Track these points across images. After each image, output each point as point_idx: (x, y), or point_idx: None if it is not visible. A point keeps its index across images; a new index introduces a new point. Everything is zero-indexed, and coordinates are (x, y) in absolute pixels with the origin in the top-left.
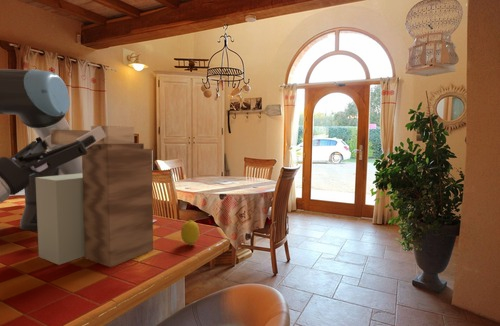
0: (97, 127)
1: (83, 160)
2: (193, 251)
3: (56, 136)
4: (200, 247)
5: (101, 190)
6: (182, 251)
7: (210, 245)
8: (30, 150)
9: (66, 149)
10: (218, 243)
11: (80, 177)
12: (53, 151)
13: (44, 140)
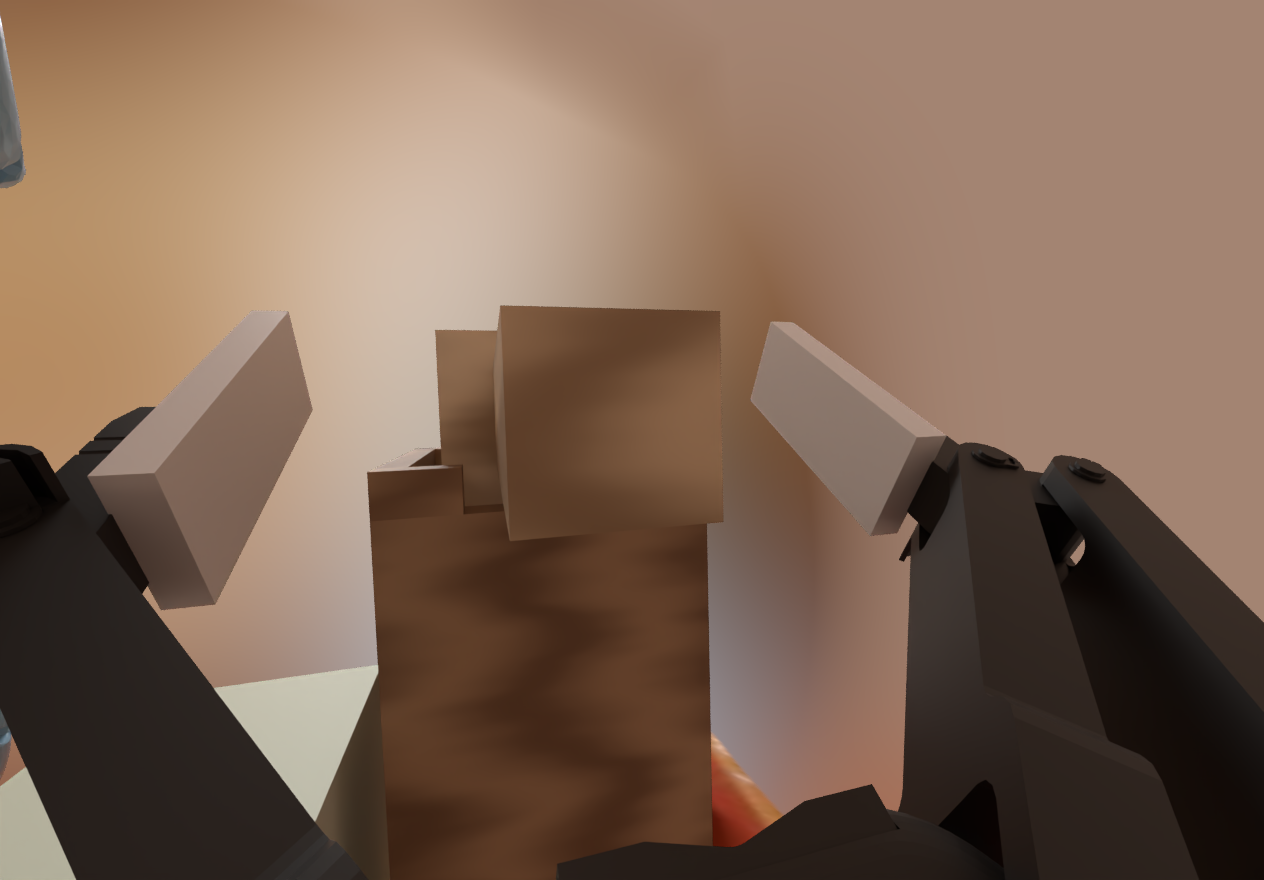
0: (794, 330)
1: (398, 620)
2: (738, 820)
3: (658, 411)
4: (715, 790)
5: (632, 794)
6: (715, 845)
7: (717, 764)
8: (355, 865)
9: (1181, 567)
10: (714, 744)
11: (308, 773)
12: (1078, 654)
13: (122, 499)
